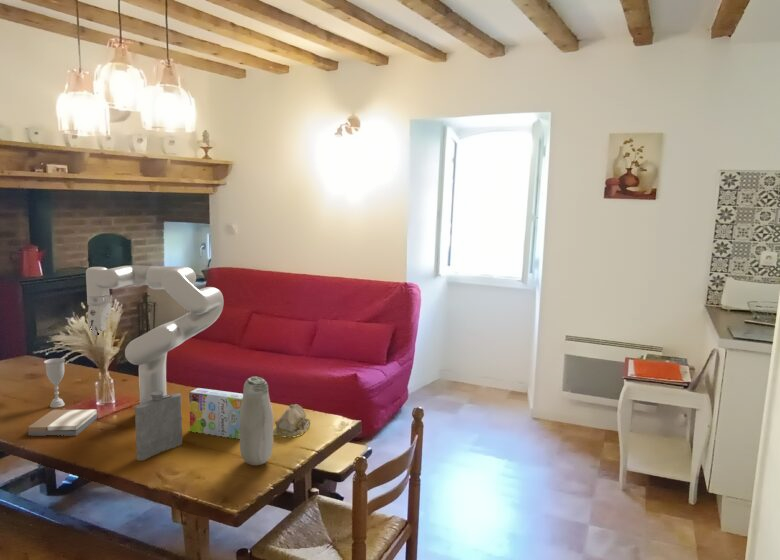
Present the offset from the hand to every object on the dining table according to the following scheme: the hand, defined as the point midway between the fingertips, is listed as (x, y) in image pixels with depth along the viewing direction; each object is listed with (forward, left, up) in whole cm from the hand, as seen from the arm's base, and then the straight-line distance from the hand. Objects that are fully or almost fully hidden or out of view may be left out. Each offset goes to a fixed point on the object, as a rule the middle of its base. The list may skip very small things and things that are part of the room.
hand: (100, 347), depth 210 cm
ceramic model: (-74, +17, -26) cm, 80 cm away
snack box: (-49, +20, -25) cm, 59 cm away
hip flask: (-33, +34, -25) cm, 54 cm away
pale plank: (+4, +15, -23) cm, 28 cm away
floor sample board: (+7, +15, -25) cm, 30 cm away
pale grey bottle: (-66, +42, -25) cm, 82 cm away
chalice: (+20, -5, -25) cm, 33 cm away
